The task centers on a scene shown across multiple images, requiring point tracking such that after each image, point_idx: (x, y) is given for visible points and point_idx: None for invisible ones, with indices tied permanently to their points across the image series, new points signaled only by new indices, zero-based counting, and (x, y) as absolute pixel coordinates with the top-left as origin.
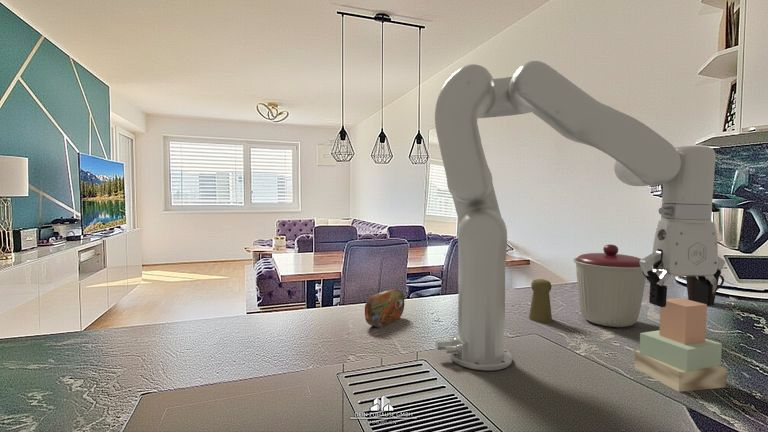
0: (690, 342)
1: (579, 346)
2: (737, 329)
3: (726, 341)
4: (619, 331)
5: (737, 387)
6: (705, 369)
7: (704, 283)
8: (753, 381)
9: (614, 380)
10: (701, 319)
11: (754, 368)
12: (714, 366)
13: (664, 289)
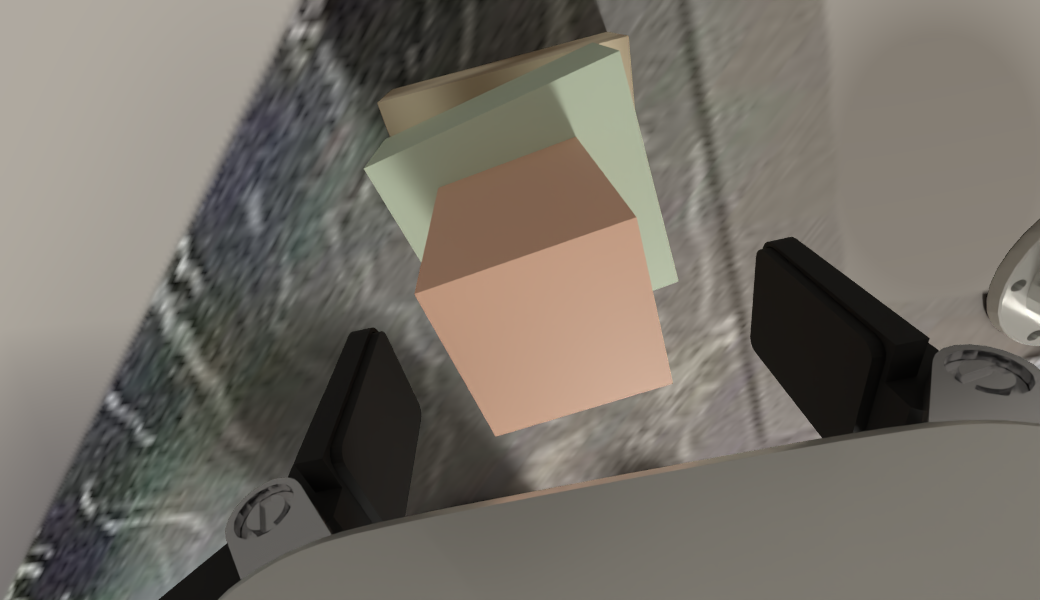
0: (537, 154)
1: (696, 373)
2: (110, 535)
3: (188, 454)
4: (495, 484)
5: (348, 89)
6: (484, 82)
7: (350, 502)
8: (255, 150)
9: (777, 119)
10: (467, 226)
11: (194, 263)
12: (423, 119)
13: (897, 314)
